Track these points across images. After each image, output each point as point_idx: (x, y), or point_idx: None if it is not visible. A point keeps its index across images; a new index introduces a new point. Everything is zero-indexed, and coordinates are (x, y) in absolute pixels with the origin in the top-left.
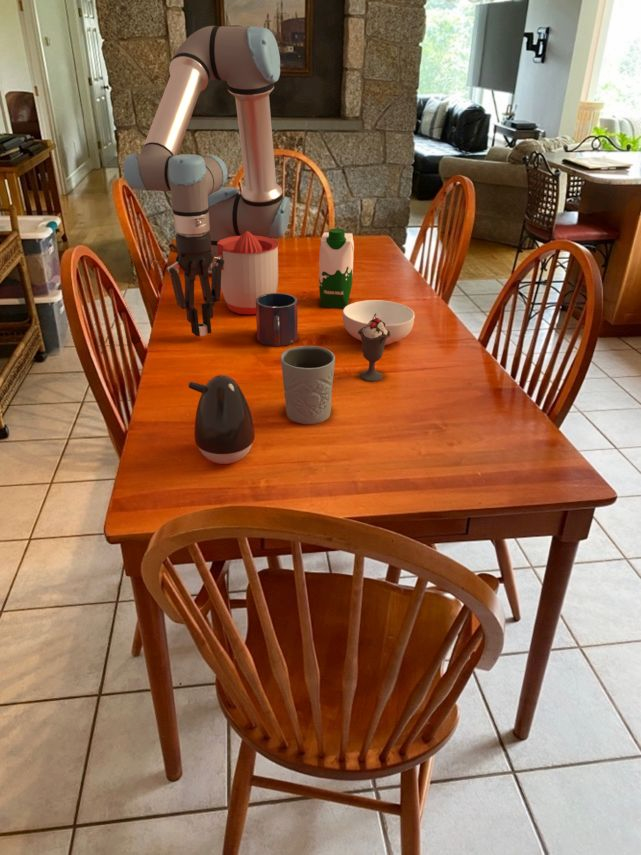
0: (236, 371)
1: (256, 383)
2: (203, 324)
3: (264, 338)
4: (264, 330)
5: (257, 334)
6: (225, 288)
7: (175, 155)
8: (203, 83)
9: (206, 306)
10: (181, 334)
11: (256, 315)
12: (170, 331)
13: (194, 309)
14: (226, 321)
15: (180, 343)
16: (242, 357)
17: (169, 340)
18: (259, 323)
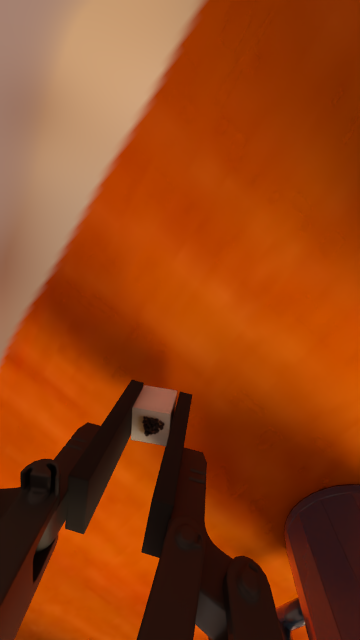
0: (123, 565)
1: (124, 614)
2: (163, 427)
3: (290, 560)
4: (300, 600)
5: (300, 529)
6: None
7: None
8: None
9: (151, 544)
10: (134, 304)
11: (337, 633)
12: (116, 251)
13: (71, 523)
14: (353, 320)
15: (95, 363)
16: None
17: (77, 319)
18: (309, 614)
